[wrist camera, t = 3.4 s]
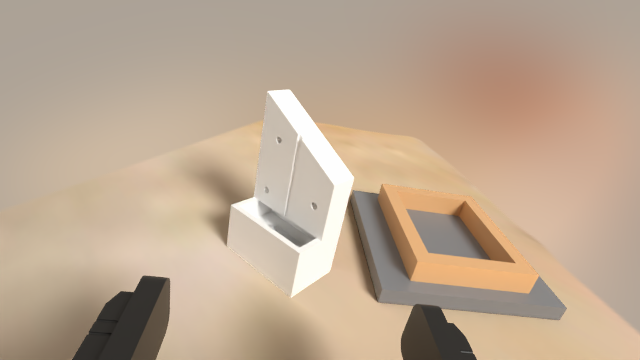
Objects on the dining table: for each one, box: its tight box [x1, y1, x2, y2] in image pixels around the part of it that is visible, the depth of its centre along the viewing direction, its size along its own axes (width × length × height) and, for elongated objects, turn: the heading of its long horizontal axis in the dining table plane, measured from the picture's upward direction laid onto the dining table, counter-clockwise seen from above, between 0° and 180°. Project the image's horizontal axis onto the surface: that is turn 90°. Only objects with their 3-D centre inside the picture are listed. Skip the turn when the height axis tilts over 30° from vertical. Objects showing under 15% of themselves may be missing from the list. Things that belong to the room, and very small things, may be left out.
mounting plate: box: [351, 184, 567, 320], centre depth 28 cm, size 12×12×2 cm
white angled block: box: [227, 90, 354, 298], centre depth 23 cm, size 4×10×9 cm, turn 50°
